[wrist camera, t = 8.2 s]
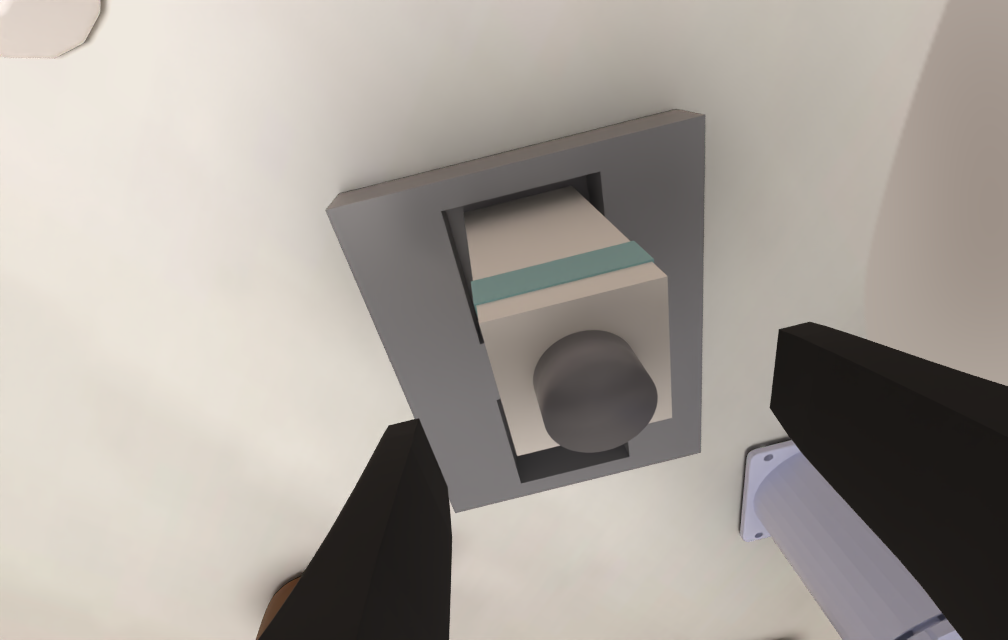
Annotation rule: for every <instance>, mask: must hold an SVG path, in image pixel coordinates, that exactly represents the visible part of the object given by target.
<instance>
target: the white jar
mask: <svg viewBox="0 0 1008 640" xmlns="http://www.w3.org/2000/svg"><path fill="white" fill-rule="evenodd" d="M99 14H100V0H0V56H1V57H4V58H56V57H58V56H60V55H62V54H64V53H66V52H67V51H69V50H71V49H73V48H75V47H77V46H79V45H81V44H83V43H84V42H85V40H86V38H87V36H88V34H89V33H90V31H91V29H92V27H93V25H94V23H95V22H96V20H97V18H98V16H99Z"/></svg>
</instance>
